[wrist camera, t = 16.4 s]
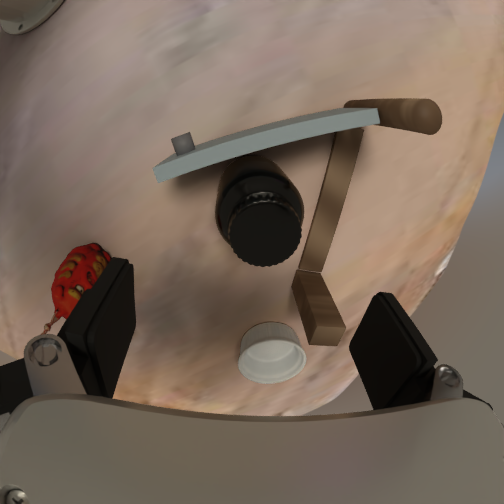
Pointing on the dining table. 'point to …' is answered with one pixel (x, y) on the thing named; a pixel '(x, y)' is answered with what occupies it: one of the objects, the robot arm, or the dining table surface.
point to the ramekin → (271, 353)
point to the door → (259, 139)
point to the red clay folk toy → (76, 278)
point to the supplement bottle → (259, 211)
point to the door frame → (330, 206)
